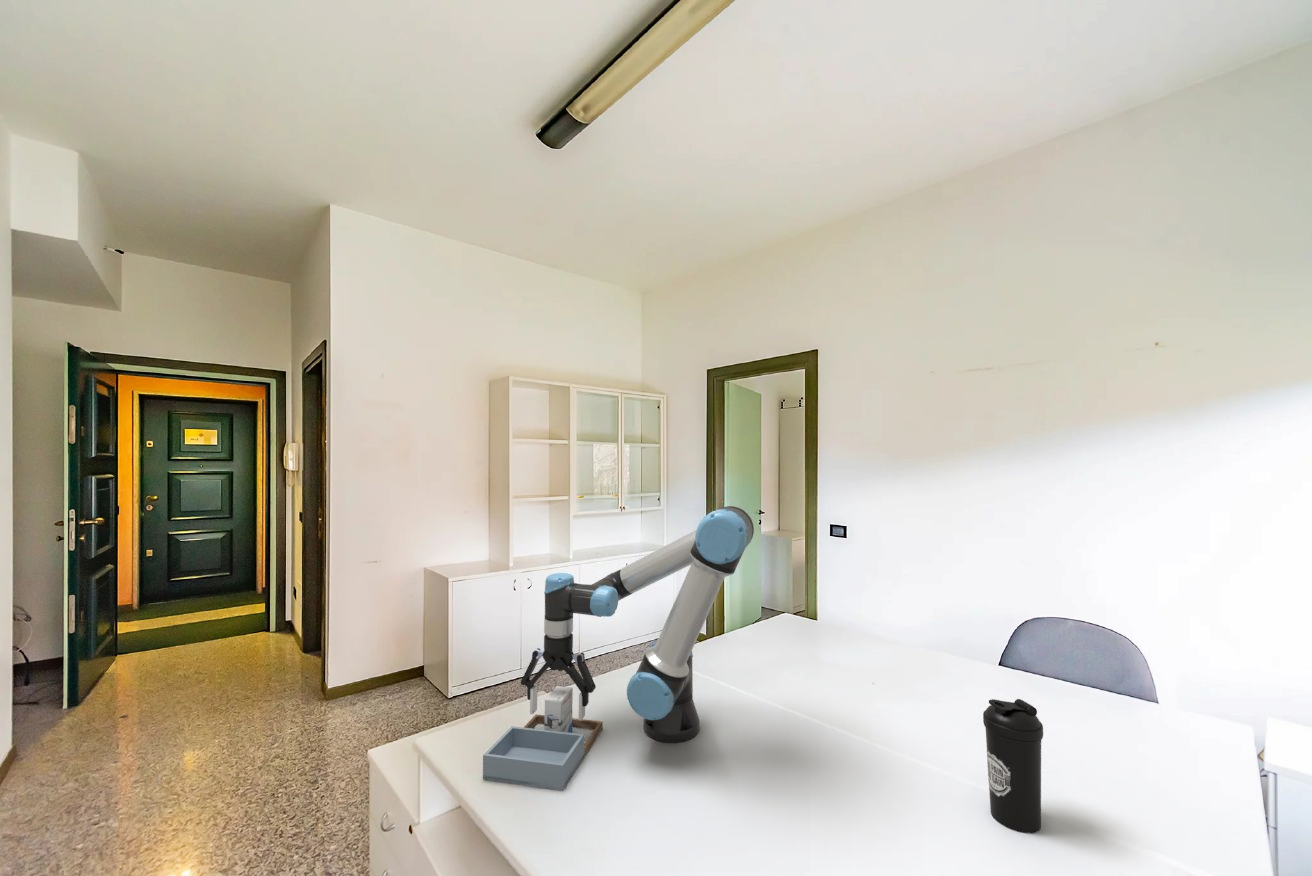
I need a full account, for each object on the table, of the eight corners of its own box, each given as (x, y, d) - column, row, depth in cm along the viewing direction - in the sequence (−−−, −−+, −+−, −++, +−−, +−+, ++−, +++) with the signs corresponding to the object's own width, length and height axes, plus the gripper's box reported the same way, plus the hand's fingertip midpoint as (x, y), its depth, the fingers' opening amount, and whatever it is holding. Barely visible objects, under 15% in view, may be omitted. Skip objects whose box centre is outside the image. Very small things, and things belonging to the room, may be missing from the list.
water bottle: (974, 804, 113) (971, 693, 114) (1020, 801, 114) (1016, 691, 115) (1010, 838, 103) (1006, 716, 104) (1059, 834, 104) (1055, 713, 105)
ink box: (556, 729, 146) (556, 685, 147) (573, 730, 145) (573, 686, 146) (543, 745, 138) (543, 699, 138) (561, 747, 137) (561, 700, 137)
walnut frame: (602, 728, 146) (602, 721, 146) (585, 756, 133) (585, 748, 133) (535, 721, 150) (535, 714, 150) (512, 747, 137) (512, 739, 137)
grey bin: (584, 757, 132) (584, 734, 133) (562, 790, 119) (562, 765, 119) (511, 748, 137) (511, 726, 137) (482, 779, 123) (482, 755, 124)
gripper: (608, 632, 143) (607, 713, 143) (521, 625, 149) (520, 703, 148) (598, 642, 136) (597, 727, 135) (508, 634, 142) (507, 716, 141)
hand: (557, 715), depth 142 cm, fingers open, 13 cm apart
